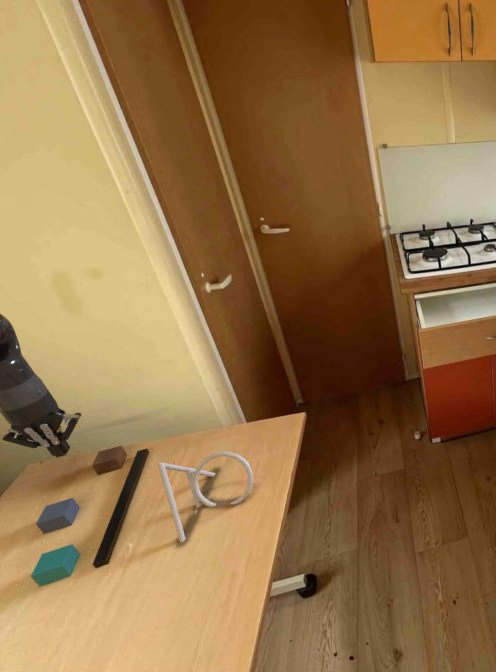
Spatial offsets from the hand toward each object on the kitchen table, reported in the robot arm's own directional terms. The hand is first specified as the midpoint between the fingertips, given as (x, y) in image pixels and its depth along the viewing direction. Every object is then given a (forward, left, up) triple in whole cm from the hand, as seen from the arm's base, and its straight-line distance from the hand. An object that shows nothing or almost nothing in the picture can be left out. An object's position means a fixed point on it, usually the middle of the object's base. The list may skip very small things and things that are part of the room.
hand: (63, 453), depth 97 cm
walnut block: (+7, 0, -8) cm, 11 cm away
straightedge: (+13, -14, -8) cm, 21 cm away
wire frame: (+32, -23, -8) cm, 40 cm away
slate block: (+2, -14, -8) cm, 16 cm away
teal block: (+6, -27, -8) cm, 29 cm away
